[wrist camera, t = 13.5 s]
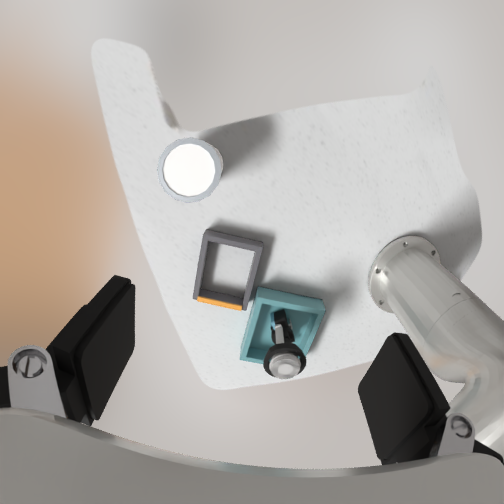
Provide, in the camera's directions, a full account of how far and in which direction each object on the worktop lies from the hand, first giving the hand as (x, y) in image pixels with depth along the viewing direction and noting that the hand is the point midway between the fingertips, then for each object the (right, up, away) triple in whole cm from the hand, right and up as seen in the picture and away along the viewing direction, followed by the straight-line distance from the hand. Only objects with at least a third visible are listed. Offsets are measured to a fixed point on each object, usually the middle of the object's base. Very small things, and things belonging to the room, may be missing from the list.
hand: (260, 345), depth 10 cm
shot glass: (-7, +14, +25) cm, 30 cm away
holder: (-4, +1, +30) cm, 30 cm away
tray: (+4, -8, +34) cm, 35 cm away
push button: (+4, -8, +33) cm, 34 cm away
